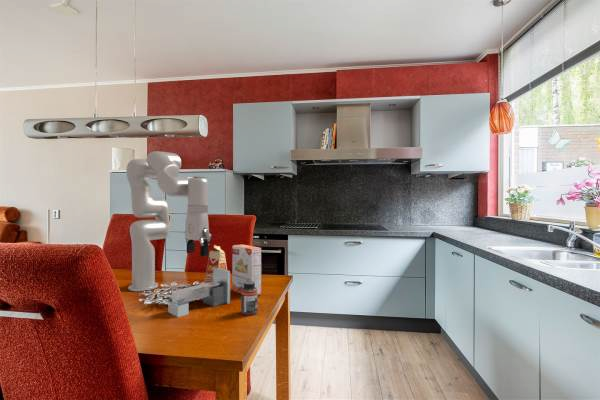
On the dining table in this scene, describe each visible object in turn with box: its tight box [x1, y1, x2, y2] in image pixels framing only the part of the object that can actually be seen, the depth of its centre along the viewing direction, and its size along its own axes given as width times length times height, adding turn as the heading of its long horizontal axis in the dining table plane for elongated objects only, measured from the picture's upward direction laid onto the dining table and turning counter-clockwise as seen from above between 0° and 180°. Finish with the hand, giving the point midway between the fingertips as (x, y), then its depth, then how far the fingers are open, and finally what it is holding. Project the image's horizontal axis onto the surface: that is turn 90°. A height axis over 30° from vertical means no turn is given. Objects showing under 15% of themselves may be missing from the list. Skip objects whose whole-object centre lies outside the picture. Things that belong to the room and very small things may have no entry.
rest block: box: [167, 297, 190, 318], centre depth 114 cm, size 7×4×5 cm, turn 49°
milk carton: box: [203, 244, 228, 284], centre depth 151 cm, size 9×9×20 cm
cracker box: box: [231, 243, 262, 296], centre depth 140 cm, size 14×6×21 cm, turn 47°
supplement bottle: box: [240, 281, 259, 316], centre depth 115 cm, size 6×6×11 cm
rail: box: [171, 282, 220, 304], centre depth 120 cm, size 4×18×4 cm, turn 139°
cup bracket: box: [202, 267, 231, 308], centre depth 126 cm, size 10×7×13 cm
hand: (197, 254), depth 121 cm, fingers open, 9 cm apart
